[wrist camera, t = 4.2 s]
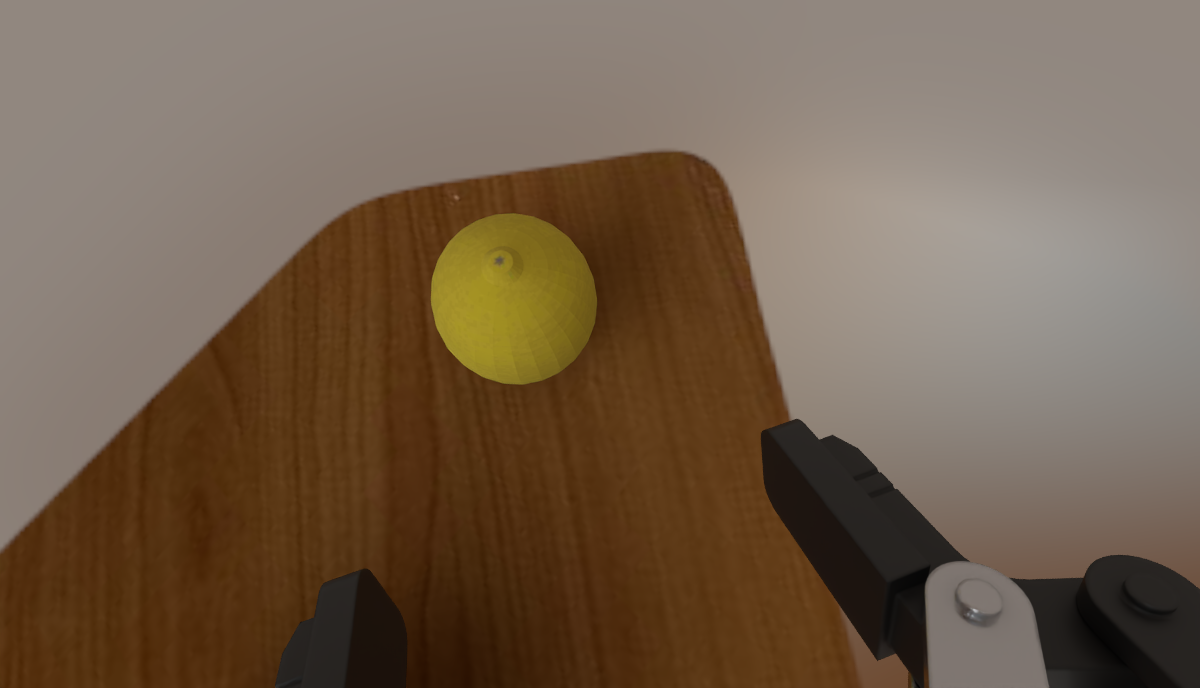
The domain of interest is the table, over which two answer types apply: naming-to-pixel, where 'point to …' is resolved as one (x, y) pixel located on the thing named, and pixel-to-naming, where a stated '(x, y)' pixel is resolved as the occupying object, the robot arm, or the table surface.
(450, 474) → the table surface
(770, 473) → the robot arm
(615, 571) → the table surface
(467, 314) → the lemon
